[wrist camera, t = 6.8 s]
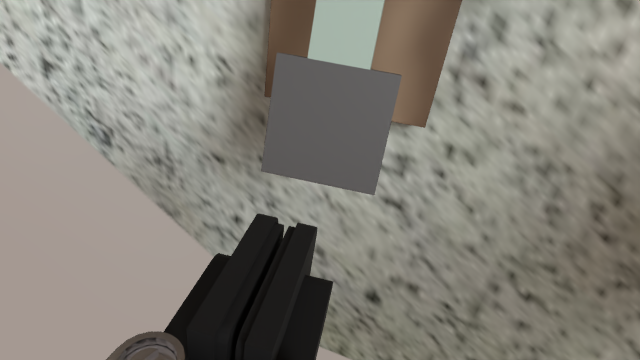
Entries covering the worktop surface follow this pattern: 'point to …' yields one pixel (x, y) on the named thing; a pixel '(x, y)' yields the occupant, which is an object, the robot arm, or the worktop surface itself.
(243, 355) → the robot arm
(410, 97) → the press base
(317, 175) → the press lever
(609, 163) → the worktop surface
